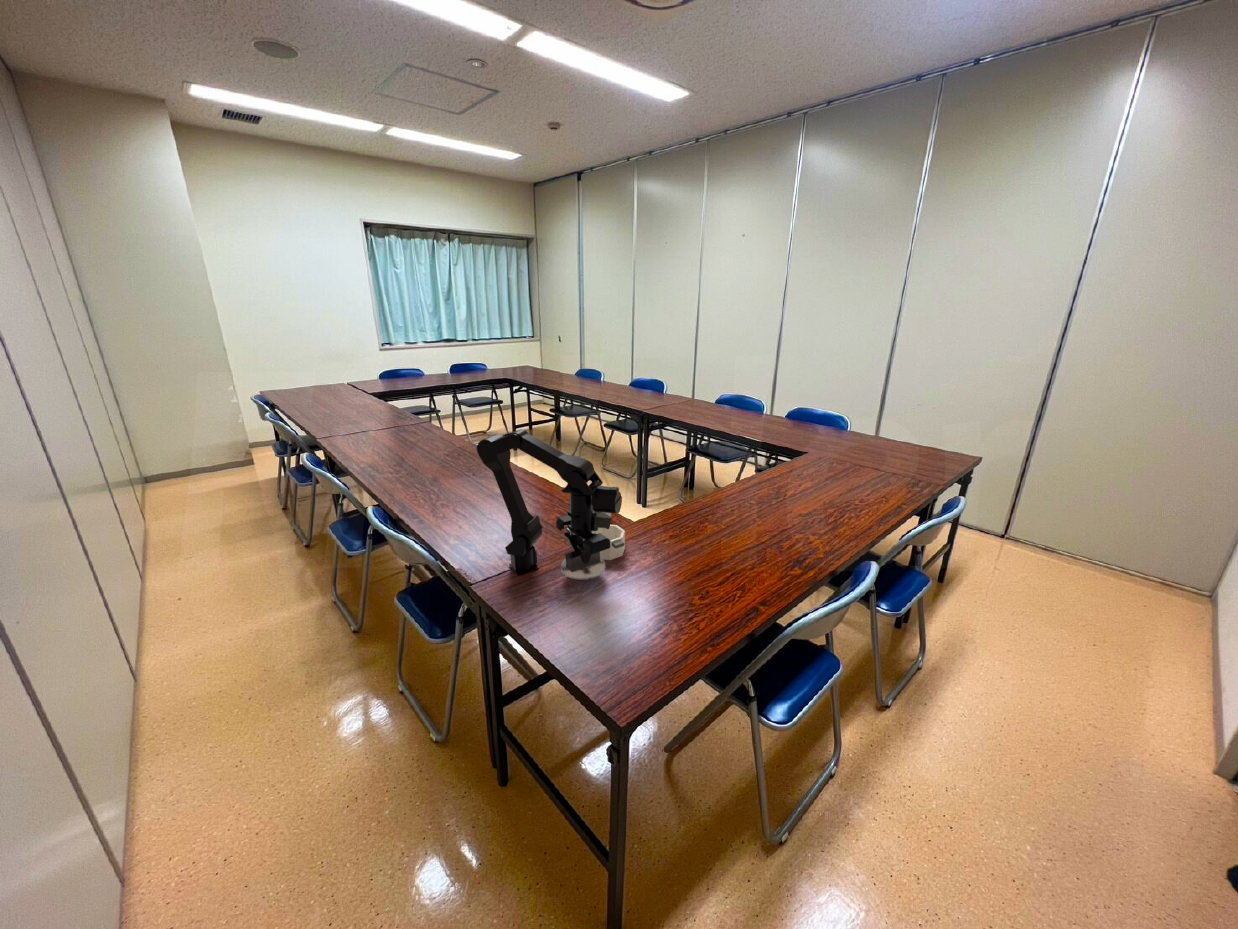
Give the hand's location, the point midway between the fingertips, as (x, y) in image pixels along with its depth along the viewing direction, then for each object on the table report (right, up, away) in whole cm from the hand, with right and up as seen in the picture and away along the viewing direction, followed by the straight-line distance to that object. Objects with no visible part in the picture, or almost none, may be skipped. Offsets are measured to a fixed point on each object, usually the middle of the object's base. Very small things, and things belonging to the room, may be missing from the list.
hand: (583, 560), depth 128 cm
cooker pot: (+6, 0, +16) cm, 17 cm away
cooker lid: (0, -2, +1) cm, 2 cm away
